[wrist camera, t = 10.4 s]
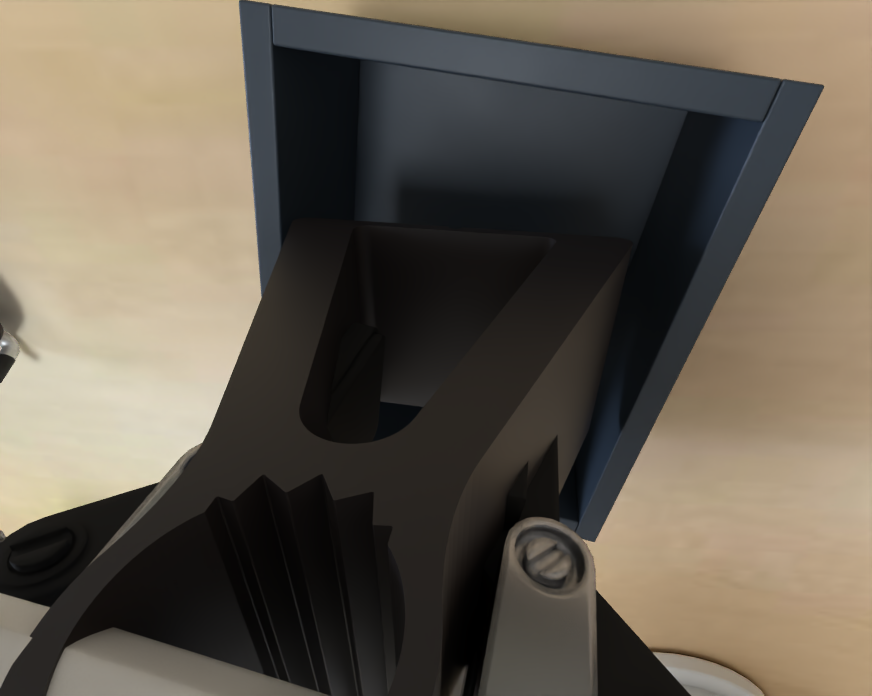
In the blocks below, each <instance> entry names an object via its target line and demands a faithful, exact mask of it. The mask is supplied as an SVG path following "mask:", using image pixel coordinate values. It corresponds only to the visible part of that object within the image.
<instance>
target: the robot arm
mask: <svg viewBox="0 0 872 696" xmlns="http://www.w3.org/2000/svg"><path fill="white" fill-rule="evenodd" d="M384 350H385V336H384V335H380V334H379V332H378V328H377V327H372V326H368V325H363V324H359V323H353V324H352V325H351V326H350V328H349V329H348V330H347V331H346V333H345V334H344V335H343V336H342V338H341V343H340V348H339V353H338V358H337V363H336V368H335V373H334V378H333V383H332V388H331V395H332V398H331V403H330V408H329V413H328V418H327V423H326V425H327V428H328V430H329V433H330V436H331V439H332V441H333V442H336V443H344V444H360V443H368V442H372V440H373V438H374V436H375V434H376V431H377V427H378V421H379V409H380V397H381V385H382V373H383V362H384ZM201 445H202V443H201V444H199V445H197V446H195V447H194V448H192V449H190V450H189V451H188V452H186V453H185V454H184V455H183V456H182V457H181V458H180V459H179V460H178V461H177V462H176V464H175V465H174V466H173V467H172V468H171V469H170V471H169V472H168V473H167V474H166V475H165V476H164V478H163V479H162V480H161V481H160V482H159V483H155V484H152V485H149V486H145V487H142V488H139V489H136V490H132V491H129V492H126V493H123V494H119V495H116V496H113V497H109V498H106V499H103V500H100V501H96V502H93V503H90V504H87V505H83V506H80V507H77V508H73V509H70V510H67V511H64V512H60V513H57V514H54V515H51V516H47V517H44V518H42V519H39V520H37V521H34V522H32V523H29V524H27V525H25V526H24V527H22V528H20V529H19V530H17V531H15V532H14V533H12V534H10V535H9V536H8V537H5V535H4V533H3V532H2V531H0V688H1V686H2V683H3V681H4V679H5V677H6V675H7V673H8V672H9V670H10V668H11V666H12V664H13V663H14V661H15V660H16V659H17V657H18V656H19V655H20V654H21V652H22V651H23V650H24V648H25V647H26V646H27V644H28V643H29V642H30V640H31V639H32V637H29V636H30V635H31V633H32V632H33V630H34V629H35V627H36V626H37V625H38V623H39V622H40V620H41V619H42V618H43V616H44V615H45V614H46V613H47V611H48V610H49V609H50V607H51V606H52V605H53V604H54V603H55V601H56V600H57V599H58V598H59V597H60V595H61V594H62V593H63V592H64V591H65V590H66V589H67V588H68V587H69V585H70V584H71V583H72V582H73V581H74V580H75V579H76V578H77V577H78V576H79V575H80V574H81V573H82V572H83V571H84V570H85V569H86V568H87V567H88V566H89V565H90V564H91V563H92V562H93V561H94V560H95V559H97V558H98V557H99V556H100V555H101V554H102V553H103V552H105V551H106V550H107V549H108V548H109V547H110V546H111V545H112V544H114V543H115V542H116V541H117V540H118V539H119V538H120V537H122V536H123V535H124V534H125V533H126V532H127V531H128V530H129V529H130V528H131V527H132V526H133V525H134V524H136V523H137V522H138V521H139V520H140V519H141V518H142V517H143V516H144V515H145V514H146V513H147V512H148V511H149V510H150V509H151V508H152V507H153V506H154V505H155V504H156V503H157V501H158V500H159V499H160V498H161V497H162V496H163V495H164V494H165V493H166V492H167V490H168V489H169V488H170V487H171V486H172V485H173V484H174V482H175V481H176V480H177V479H178V477H179V476H180V475H181V474H182V472H183V471H184V470H185V468H186V467H187V466H188V464H189V463H190V461H191V460H192V459H193V457H194V456H195V454H196V453H197V451H198V449H199V448H200V446H201ZM527 478H528V462H527V464H526V465H525V467H524V469H523V470H522V472H521V474H520V475H519V477H518V479H517V480H516V482H515V484H514V485H513V487H512V489H511V490H510V492H509V494H508V497H507V504H506V512H505V520H504V527H503V533H502V534H501V536H500V538H499V540H498V541H497V543H496V545H495V547H494V549H493V550H492V552H491V554H490V556H489V558H488V559H487V561H486V563H485V565H484V566H483V572H482V578H481V585H480V591H479V598H478V605H477V611H476V618H475V624H474V631H473V637H472V639H473V643H472V647H471V650H470V654H469V657H468V661H467V665H466V669H465V674H464V679H463V684H462V689H461V694H460V696H765V695H764V694H763V692H762V691H761V690H760V689H759V688H758V687H757V686H756V685H754V684H753V683H752V682H751V681H749V680H748V679H747V678H745V677H743V676H741V675H740V674H738V673H736V672H734V671H733V670H731V669H728V668H726V667H723V666H721V665H718V664H716V663H713V662H710V661H706V660H703V659H699V658H696V657H691V656H685V655H680V654H674V653H661V652H651V650H650V649H649V648H648V647H647V646H646V645H645V644H644V643H643V642H642V640H641V639H640V638H639V637H638V636H637V635H636V634H635V633H634V632H633V630H632V629H631V628H630V627H629V626H628V625H627V624H626V623H625V622H624V620H623V619H622V618H621V617H620V616H619V615H618V614H617V613H616V611H615V610H614V609H613V608H612V607H611V606H610V605H609V604H608V603H607V601H606V600H605V599H604V598H603V597H602V596H601V595H600V594H599V593H598V591H597V590H596V571H595V565H594V559H593V556H592V554H591V552H590V550H589V548H588V546H587V544H586V543H585V542H584V541H583V540H582V539H581V537H580V536H579V535H578V534H577V533H576V532H574V531H573V530H572V529H570V528H569V527H568V526H566V525H565V524H562V523H560V516H559V476H558V436H556V438H555V440H554V442H553V443H552V445H551V447H550V449H549V450H548V452H547V454H546V456H545V458H544V459H543V461H542V463H541V465H540V467H539V468H538V470H537V472H536V474H535V475H534V477H533V479H532V481H531V483H530V484H529V486H528V488H527ZM46 696H330V695H326V694H323V693H320V692H317V691H314V690H311V689H308V688H304V687H301V686H298V685H295V684H292V683H289V682H286V681H282V680H279V679H276V678H273V677H270V676H267V675H264V674H260V673H257V672H254V671H251V670H248V669H245V668H241V667H238V666H235V665H232V664H229V663H226V662H223V661H219V660H216V659H213V658H210V657H207V656H204V655H201V654H197V653H194V652H191V651H188V650H185V649H181V648H178V647H175V646H172V645H169V644H165V643H162V642H159V641H156V640H153V639H149V638H146V637H143V636H140V635H137V634H133V633H130V632H127V631H124V630H121V629H117V628H114V627H113V628H110V629H107V630H104V631H101V632H98V633H95V634H92V635H90V636H87V637H85V638H83V639H81V640H79V641H77V642H75V643H73V644H71V645H69V646H68V647H66V648H65V649H64V651H63V653H62V655H61V657H60V660H59V662H58V664H57V666H56V669H55V671H54V674H53V676H52V679H51V682H50V685H49V688H48V691H47V695H46Z"/></svg>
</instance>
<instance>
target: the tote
mask: <svg viewBox="0 0 872 696" xmlns="http://www.w3.org/2000/svg"><path fill="white" fill-rule="evenodd" d="M239 11H240V24H241V37H242V50H243V63H244V76H245V89H246V102H247V115H248V128H249V141H250V154H251V167H252V180H253V192H254V205H255V218H256V231H257V244H258V257H259V270H260V283H261V296H263V294H264V291H265V289H266V286H267V284H268V281H269V279H270V276H271V273H272V271H273V268H274V266H275V263H276V261H277V258H278V256H279V253H280V251H281V248H282V246H283V243H284V241H285V238H286V236H287V233H288V230H289V228H290V225H291V223H292V221H293V220H295V219H299V218H324V219H340V220H356V221H371V222H387V223H402V224H418V225H433V226H448V227H449V228H451V229H460V228H462V227H464V228H480V229H495V230H511V231H527V232H542V233H558V234H573V235H589V236H604V237H618V238H624V239H627V240H630V241H631V242H633V246H632V250H631V254H630V258H629V262H628V267H627V271H626V275H625V279H624V284H623V288H622V292H621V296H620V300H619V305H618V309H617V313H616V317H615V322H614V326H613V330H612V334H611V338H610V343H609V347H608V351H607V355H606V360H605V364H604V368H603V372H602V377H601V381H600V385H599V389H598V393H597V398H596V402H595V406H594V410H593V415H592V419H591V423H590V427H589V431H588V433H587V435H586V437H585V440H584V442H583V444H582V446H581V448H580V450H579V453H578V455H577V457H576V459H575V461H574V464H573V466H572V468H571V470H570V472H569V475H568V477H567V479H566V481H565V483H564V485H563V488H562V490H561V492H560V494H559V516H560V523H562V524H565V525H566V526H568V527H569V528H570V529H572V530H573V531H574V532H576V533H577V534H578V535H579V536H580V537H581V539H585V540H588V541H592V542H595V540H596V538H597V536H598V534H599V532H600V530H601V528H602V526H603V524H604V522H605V521H606V519H607V517H608V515H609V513H610V511H611V509H612V507H613V505H614V503H615V501H616V499H617V497H618V495H619V493H620V491H621V489H622V487H623V485H624V483H625V481H626V479H627V477H628V475H629V473H630V471H631V469H632V467H633V465H634V463H635V461H636V459H637V457H638V455H639V453H640V451H641V449H642V447H643V445H644V443H645V441H646V439H647V437H648V435H649V433H650V431H651V429H652V427H653V425H654V423H655V421H656V419H657V417H658V415H659V413H660V411H661V410H662V408H663V406H664V404H665V402H666V400H667V398H668V396H669V394H670V392H671V390H672V388H673V386H674V384H675V382H676V380H677V378H678V376H679V374H680V372H681V370H682V368H683V366H684V364H685V362H686V360H687V358H688V356H689V354H690V352H691V350H692V348H693V346H694V344H695V342H696V340H697V338H698V336H699V334H700V332H701V330H702V328H703V326H704V324H705V322H706V320H707V318H708V316H709V314H710V312H711V310H712V308H713V306H714V304H715V302H716V300H717V299H718V297H719V295H720V293H721V291H722V289H723V287H724V285H725V283H726V281H727V279H728V277H729V275H730V273H731V271H732V269H733V267H734V265H735V263H736V261H737V259H738V257H739V255H740V253H741V251H742V249H743V247H744V245H745V243H746V241H747V239H748V237H749V235H750V233H751V231H752V229H753V227H754V225H755V223H756V221H757V219H758V217H759V215H760V213H761V211H762V209H763V207H764V205H765V203H766V201H767V199H768V197H769V195H770V193H771V191H772V190H773V188H774V186H775V184H776V182H777V180H778V178H779V176H780V174H781V172H782V170H783V168H784V166H785V164H786V162H787V160H788V158H789V156H790V154H791V152H792V150H793V148H794V146H795V144H796V142H797V140H798V138H799V136H800V134H801V132H802V130H803V128H804V126H805V124H806V122H807V120H808V118H809V116H810V114H811V112H812V110H813V108H814V106H815V104H816V102H817V100H818V98H819V96H820V94H821V92H822V90H823V88H824V86H823V85H821V84H814V83H807V82H800V81H794V80H787V79H779V78H773V77H766V76H759V75H752V74H746V73H739V72H732V71H725V70H718V69H712V68H705V67H698V66H691V65H684V64H677V63H671V62H664V61H657V60H650V59H643V58H637V57H630V56H623V55H616V54H609V53H602V52H596V51H589V50H582V49H575V48H568V47H562V46H555V45H548V44H541V43H534V42H528V41H521V40H514V39H507V38H500V37H493V36H487V35H480V34H473V33H466V32H459V31H453V30H446V29H439V28H432V27H425V26H419V25H412V24H405V23H398V22H391V21H384V20H378V19H371V18H364V17H357V16H350V15H344V14H337V13H330V12H323V11H316V10H310V9H303V8H296V7H289V6H282V5H275V4H274V5H272V4H269V3H262V2H255V1H248V0H239ZM422 408H423V407H420V406H412V405H404V404H397V403H389V402H380V409H379V421H378V427H377V431H376V434H375V436H374V438H373V440H372V442H373V441H377V440H381V439H384V438H387V437H389V436H391V435H393V434H395V433H397V432H399V431H401V430H402V429H404V428H405V427H406V426H407V425H409V424H410V423H411V422H412V421H413V419H414V418H415V417H416V416H417V414H418V413H419V412H420V411H421V410H422Z"/></svg>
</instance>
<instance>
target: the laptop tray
mask: <svg viewBox="0 0 872 696" xmlns="http://www.w3.org/2000/svg"><path fill="white" fill-rule="evenodd" d="M0 346H1V347H2V349H1V351H0V383H1V382H2V381H3V379H4V378H5V376H6V375H7V373H8V371H9V370H10V368H11V367H12V365H13V364H14V362H15V359H16V358H17V356H18V354H19V352H20V348H19V343H18V342H17V340H16V339H15V338H14V337H13V336H12V335H10V334H9V333H7V332H5V331H4V330H3V327H2V325H1V324H0Z"/></svg>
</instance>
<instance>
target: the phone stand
mask: <svg viewBox="0 0 872 696" xmlns="http://www.w3.org/2000/svg"><path fill="white" fill-rule="evenodd" d="M632 246H633V242H631V241H630V240H627V239H624V238H618V237H604V236H589V235H573V234H558V233H542V232H527V231H511V230H495V229H480V228H464V227H462V228H460V229H451V228H449V227H448V226H433V225H418V224H402V223H387V222H371V221H356V220H340V219H324V218H299V219H295V220H293V221H292V223H291V225H290V228H289V230H288V233H287V236H286V238H285V241H284V243H283V246H282V248H281V251H280V253H279V256H278V258H277V261H276V263H275V266H274V268H273V271H272V273H271V276H270V279H269V281H268V284H267V286H266V289H265V291H264V294H263V296H262V299H261V301H260V304H259V306H258V309H257V311H256V314H255V316H254V319H253V322H252V324H251V327H250V329H249V332H248V334H247V337H246V339H245V342H244V344H243V347H242V349H241V352H240V354H239V357H238V360H237V362H236V365H235V367H234V370H233V372H232V375H231V377H230V380H229V382H228V385H227V387H226V390H225V392H224V395H223V397H222V400H221V403H220V405H219V408H218V410H217V413H216V415H215V418H214V420H213V423H212V425H211V427H210V429H209V432H208V434H207V435H206V437H205V439H204V441H203V443H202V445H201V446H200V448H199V449H198V451H197V453H196V454H195V456H194V457H193V459H192V460H191V461H190V463H189V464H188V466H187V467H186V468H185V470H184V471H183V472H182V474H181V475H180V476H179V477H178V479H177V480H176V481H175V482H174V484H173V485H172V486H171V487H170V488H169V489H168V490H167V492H166V493H165V494H164V495H163V496H162V497H161V498H160V499H159V500H158V501H157V503H156V504H155V505H154V506H153V507H152V508H151V509H150V510H149V511H148V512H147V513H146V514H145V515H144V516H143V517H142V518H141V519H140V520H139V521H138V522H137V523H136V524H134V525H133V526H132V527H131V528H130V529H129V530H128V531H127V532H126V533H125V534H124V535H123V536H122V537H120V538H119V539H118V540H117V541H116V542H115V543H114V544H112V545H111V546H110V547H109V548H108V549H107V550H106V551H105V552H103V553H102V554H101V555H100V556H99V557H98V558H97V559H95V560H94V561H93V562H92V563H91V564H90V565H89V566H88V567H87V568H86V569H85V570H84V571H83V572H82V573H81V574H80V575H79V576H78V577H77V578H76V579H75V580H74V581H73V582H72V583H71V584H70V585H69V587H68V588H67V589H66V590H65V591H64V592H63V593H62V594H61V595H60V597H59V598H58V599H57V600H56V601H55V603H54V604H53V605H52V606H51V607H50V609H49V610H48V611H47V613H46V614H45V615H44V616H43V618H42V619H41V620H40V622H39V623H38V625H37V626H36V627H35V629H34V630H33V632H32V633H31V635H30V636H29V637H32V639H31V640H30V642H29V643H28V644H27V646H26V647H25V648H24V650H23V651H22V652H21V654H20V655H19V656H18V657H17V659H16V660H15V661H14V663H13V664H12V666H11V668H10V670H9V672H8V673H7V675H6V677H5V679H4V681H3V683H2V686H1V688H0V696H46V695H47V691H48V688H49V685H50V682H51V679H52V676H53V674H54V671H55V669H56V666H57V664H58V662H59V660H60V657H61V655H62V653H63V651H64V649H65V648H66V647H68V646H69V645H71V644H73V643H75V642H77V641H79V640H81V639H83V638H85V637H87V636H90V635H92V634H95V633H98V632H101V631H104V630H107V629H110V628H113V627H114V628H117V629H121V630H124V631H127V632H130V633H133V634H137V635H140V636H143V637H146V638H149V639H153V640H156V641H159V642H162V643H165V644H169V645H172V646H175V647H178V648H181V649H185V650H188V651H191V652H194V653H197V654H201V655H204V656H207V657H210V658H213V659H216V660H219V661H223V662H226V663H229V664H232V665H235V666H238V667H241V668H245V669H248V670H251V671H254V672H257V673H260V674H264V675H267V676H270V677H273V678H276V679H279V680H282V681H286V682H289V683H292V684H295V685H298V686H301V687H304V688H308V689H311V690H314V691H317V692H320V693H323V694H326V695H330V696H460V694H461V689H462V684H463V679H464V674H465V669H466V665H467V661H468V657H469V654H470V650H471V647H472V643H473V639H472V637H473V631H474V624H475V618H476V611H477V605H478V598H479V591H480V585H481V578H482V572H483V566H484V565H485V563H486V561H487V559H488V558H489V556H490V554H491V552H492V550H493V549H494V547H495V545H496V543H497V541H498V540H499V538H500V536H501V534H502V533H503V527H504V520H505V512H506V504H507V497H508V494H509V492H510V490H511V489H512V487H513V485H514V484H515V482H516V480H517V479H518V477H519V475H520V474H521V472H522V470H523V469H524V467H525V465H526V464H527V462H528V478H527V488H528V486H529V484H530V483H531V481H532V479H533V477H534V475H535V474H536V472H537V470H538V468H539V467H540V465H541V463H542V461H543V459H544V458H545V456H546V454H547V452H548V450H549V449H550V447H551V445H552V443H553V442H554V440H555V438H556V436H558V476H559V494H560V492H561V490H562V488H563V485H564V483H565V481H566V479H567V477H568V475H569V472H570V470H571V468H572V466H573V464H574V461H575V459H576V457H577V455H578V453H579V450H580V448H581V446H582V444H583V442H584V440H585V437H586V435H587V433H588V431H589V427H590V423H591V419H592V415H593V410H594V406H595V402H596V398H597V393H598V389H599V385H600V381H601V377H602V372H603V368H604V364H605V360H606V355H607V351H608V347H609V343H610V338H611V334H612V330H613V326H614V322H615V317H616V313H617V309H618V305H619V300H620V296H621V292H622V288H623V284H624V279H625V275H626V271H627V267H628V262H629V258H630V254H631V250H632ZM353 323H359V324H363V325H368V326H372V327H377V328H378V332H379V334H380V335H384V336H385V350H384V362H383V373H382V385H381V397H380V402H389V403H397V404H404V405H412V406H420V407H423V408H422V410H421V411H420V412H419V413H418V414H417V416H416V417H415V418H414V419H413V421H412V422H411V423H410V424H409V425H407V426H406V427H405V428H404V429H402V430H401V431H399V432H397V433H395V434H393V435H391V436H389V437H387V438H384V439H381V440H377V441H373V442H368V443H360V444H344V443H336V442H333V441H332V439H331V436H330V433H329V430H328V428H327V425H326V423H327V418H328V413H329V408H330V403H331V398H332V395H331V388H332V383H333V378H334V373H335V368H336V363H337V358H338V353H339V348H340V343H341V338H342V336H343V335H344V334H345V333H346V331H347V330H348V329H349V328H350V326H351V325H352V324H353Z"/></svg>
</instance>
